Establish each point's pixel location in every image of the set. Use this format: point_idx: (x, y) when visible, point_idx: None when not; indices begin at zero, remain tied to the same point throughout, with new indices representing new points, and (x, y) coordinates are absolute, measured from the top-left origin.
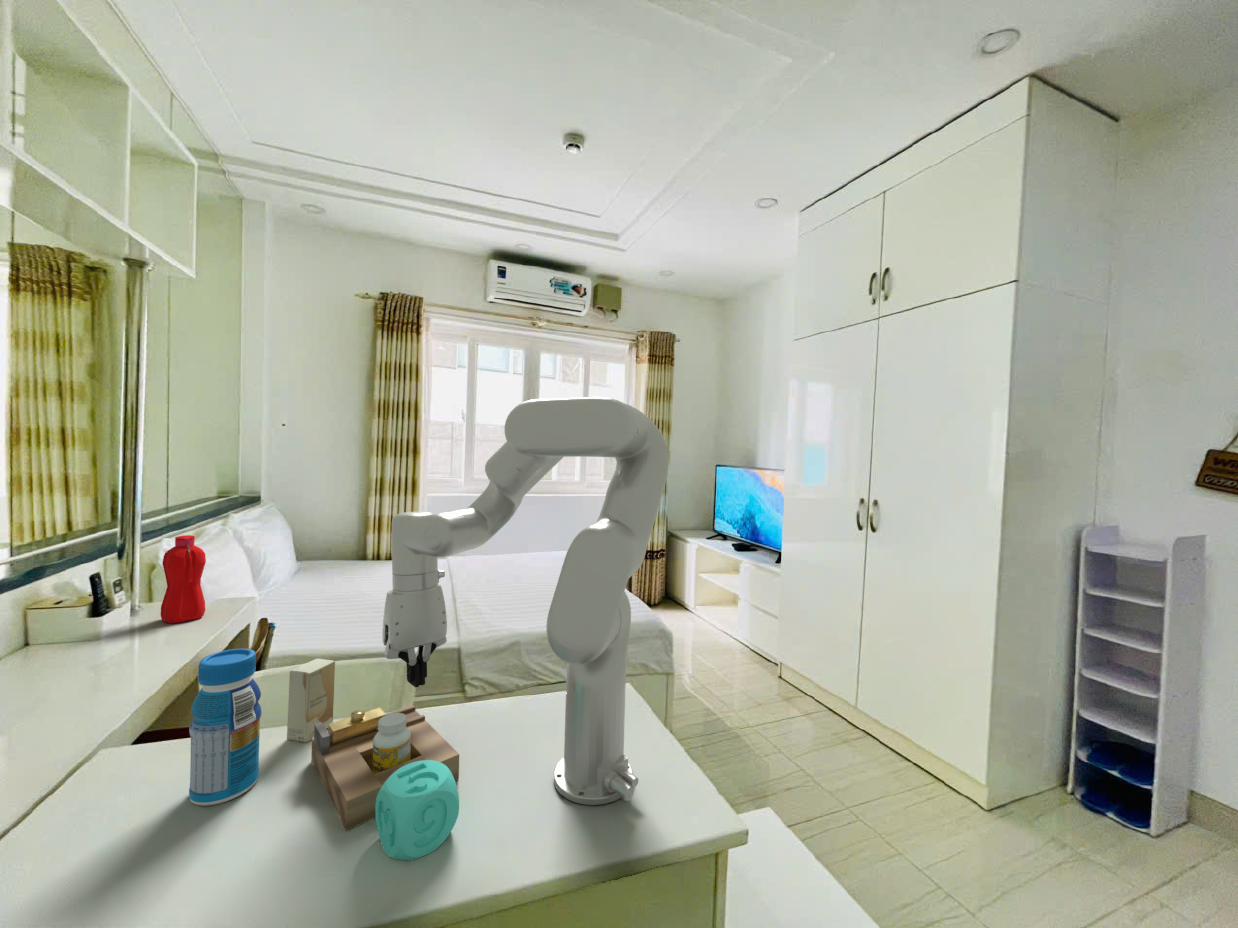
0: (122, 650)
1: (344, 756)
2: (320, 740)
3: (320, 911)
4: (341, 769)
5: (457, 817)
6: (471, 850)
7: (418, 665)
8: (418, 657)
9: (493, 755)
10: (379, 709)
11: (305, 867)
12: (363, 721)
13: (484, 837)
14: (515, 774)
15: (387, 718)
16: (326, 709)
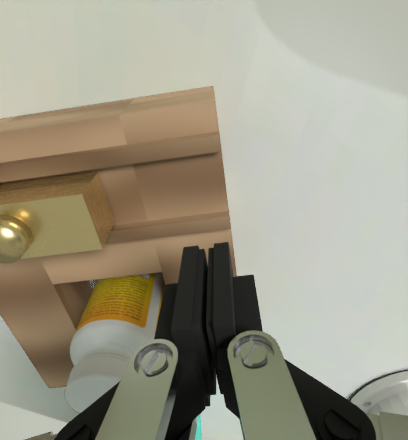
0: None
1: (19, 281)
2: None
3: (54, 415)
4: (22, 319)
5: (200, 424)
6: (207, 419)
7: (208, 400)
8: (223, 391)
9: (328, 302)
10: (80, 206)
11: (25, 371)
12: (32, 255)
13: (227, 413)
14: (326, 355)
15: (88, 391)
16: None
